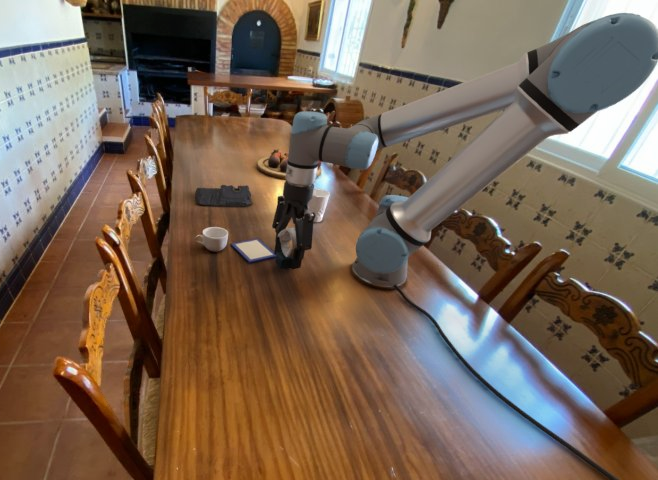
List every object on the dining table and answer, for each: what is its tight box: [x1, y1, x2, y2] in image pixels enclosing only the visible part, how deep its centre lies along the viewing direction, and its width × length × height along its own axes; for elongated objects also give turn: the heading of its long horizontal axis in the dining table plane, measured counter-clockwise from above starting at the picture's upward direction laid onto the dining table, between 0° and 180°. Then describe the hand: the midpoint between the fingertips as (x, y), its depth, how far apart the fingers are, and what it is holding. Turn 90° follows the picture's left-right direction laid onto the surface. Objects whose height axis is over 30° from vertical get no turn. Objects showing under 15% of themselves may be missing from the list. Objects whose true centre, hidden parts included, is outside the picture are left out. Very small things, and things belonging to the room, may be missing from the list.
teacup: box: [195, 226, 229, 252], centre depth 110 cm, size 10×8×5 cm
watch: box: [274, 227, 297, 270], centre depth 101 cm, size 6×8×11 cm
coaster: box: [230, 238, 276, 264], centre depth 112 cm, size 12×10×1 cm
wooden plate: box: [256, 148, 323, 180], centre depth 175 cm, size 32×32×8 cm
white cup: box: [308, 188, 331, 223], centre depth 131 cm, size 8×8×10 cm
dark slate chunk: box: [194, 184, 252, 208], centre depth 142 cm, size 15×22×5 cm
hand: (286, 260), depth 104 cm, fingers closed on watch, 8 cm apart
